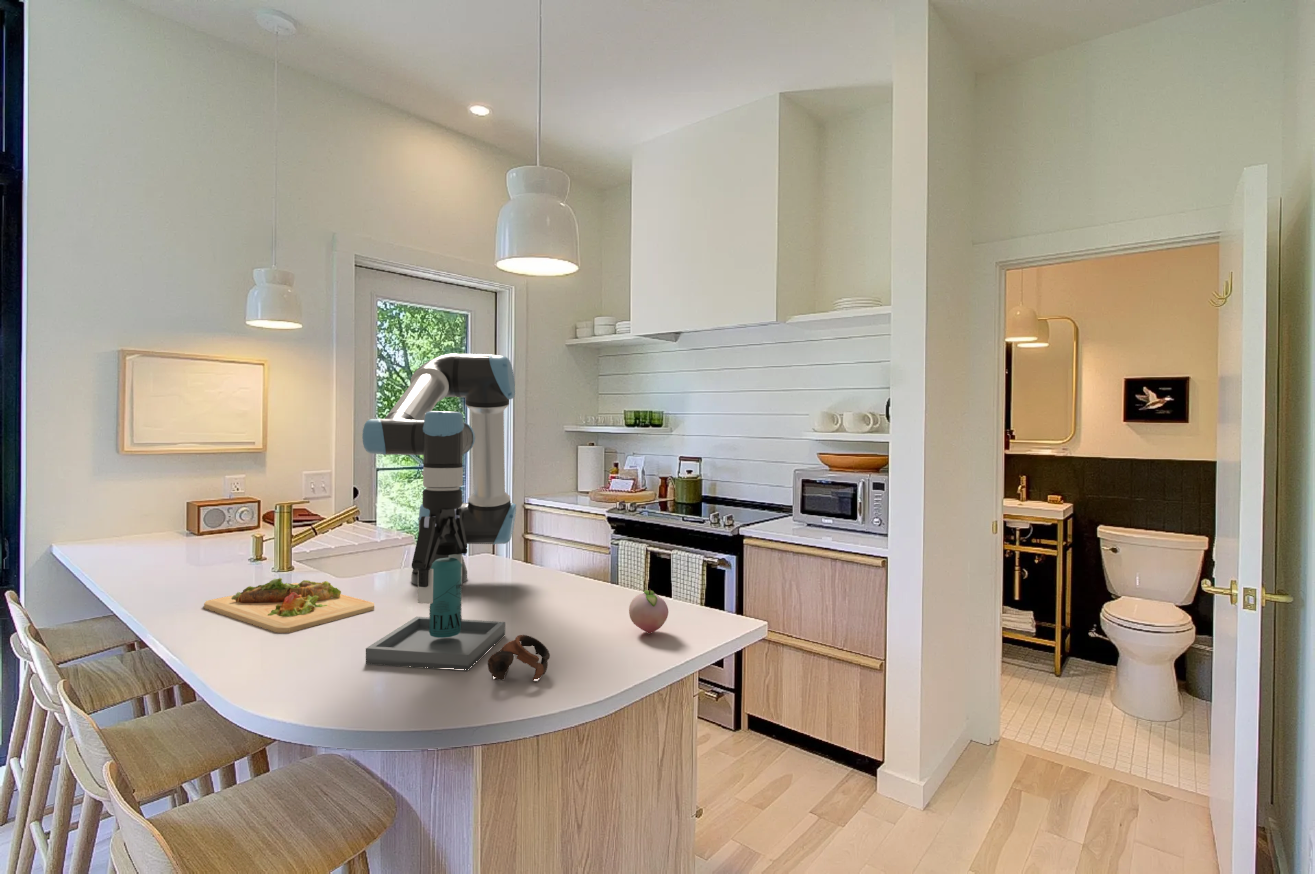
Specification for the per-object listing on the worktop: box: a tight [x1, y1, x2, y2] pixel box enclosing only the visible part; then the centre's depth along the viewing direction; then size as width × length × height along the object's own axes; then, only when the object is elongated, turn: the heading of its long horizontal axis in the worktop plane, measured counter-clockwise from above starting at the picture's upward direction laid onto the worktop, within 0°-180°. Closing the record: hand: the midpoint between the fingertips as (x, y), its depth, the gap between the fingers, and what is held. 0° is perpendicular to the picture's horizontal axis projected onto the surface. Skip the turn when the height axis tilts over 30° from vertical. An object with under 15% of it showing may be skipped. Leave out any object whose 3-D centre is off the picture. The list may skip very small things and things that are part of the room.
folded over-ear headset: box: [487, 634, 551, 681], centre depth 117 cm, size 12×10×8 cm
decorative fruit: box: [628, 588, 669, 634], centre depth 144 cm, size 9×8×10 cm
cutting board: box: [203, 577, 375, 634], centre depth 156 cm, size 35×23×8 cm
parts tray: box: [365, 616, 506, 670], centre depth 131 cm, size 20×20×3 cm
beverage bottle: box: [428, 542, 463, 638], centre depth 133 cm, size 6×7×20 cm
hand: (440, 593), depth 131 cm, fingers open, 13 cm apart
